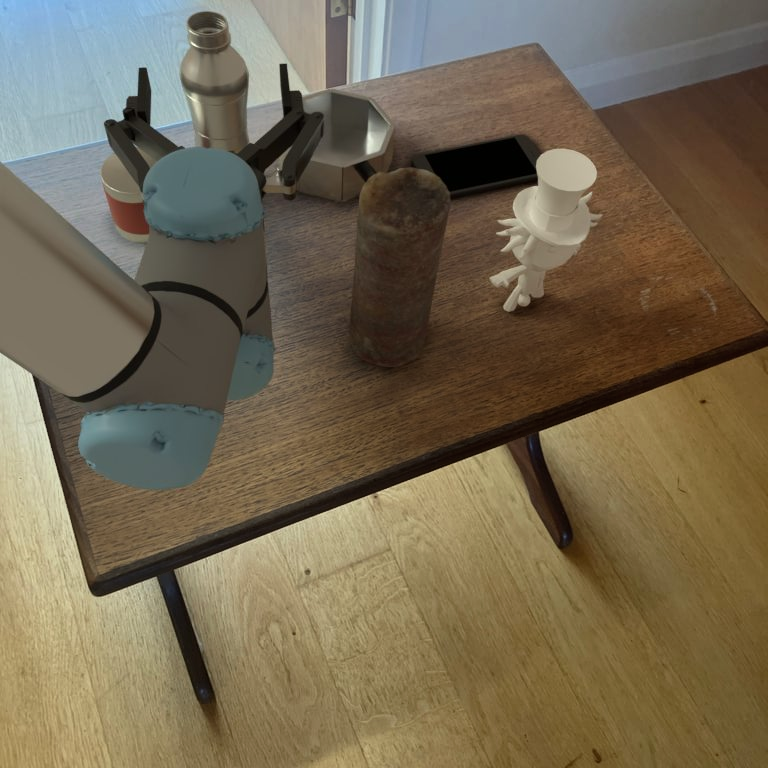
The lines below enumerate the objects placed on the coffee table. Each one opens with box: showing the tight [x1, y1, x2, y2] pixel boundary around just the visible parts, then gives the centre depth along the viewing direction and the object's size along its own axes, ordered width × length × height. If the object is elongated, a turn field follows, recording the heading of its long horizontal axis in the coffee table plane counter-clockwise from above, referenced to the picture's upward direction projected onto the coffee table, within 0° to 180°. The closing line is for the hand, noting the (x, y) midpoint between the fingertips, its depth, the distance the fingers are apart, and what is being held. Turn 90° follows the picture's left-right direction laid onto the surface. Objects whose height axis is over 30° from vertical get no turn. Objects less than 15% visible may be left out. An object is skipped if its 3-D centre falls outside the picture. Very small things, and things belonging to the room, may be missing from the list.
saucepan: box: [278, 88, 396, 203], centre depth 90 cm, size 18×12×5 cm, turn 30°
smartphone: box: [410, 134, 542, 199], centre depth 94 cm, size 7×15×1 cm, turn 109°
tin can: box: [100, 146, 157, 244], centre depth 84 cm, size 7×7×7 cm
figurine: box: [489, 148, 604, 313], centre depth 76 cm, size 10×8×18 cm
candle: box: [348, 166, 452, 368], centre depth 71 cm, size 8×7×20 cm
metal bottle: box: [178, 10, 251, 154], centre depth 82 cm, size 6×7×20 cm
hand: (215, 76), depth 82 cm, fingers open, 13 cm apart
